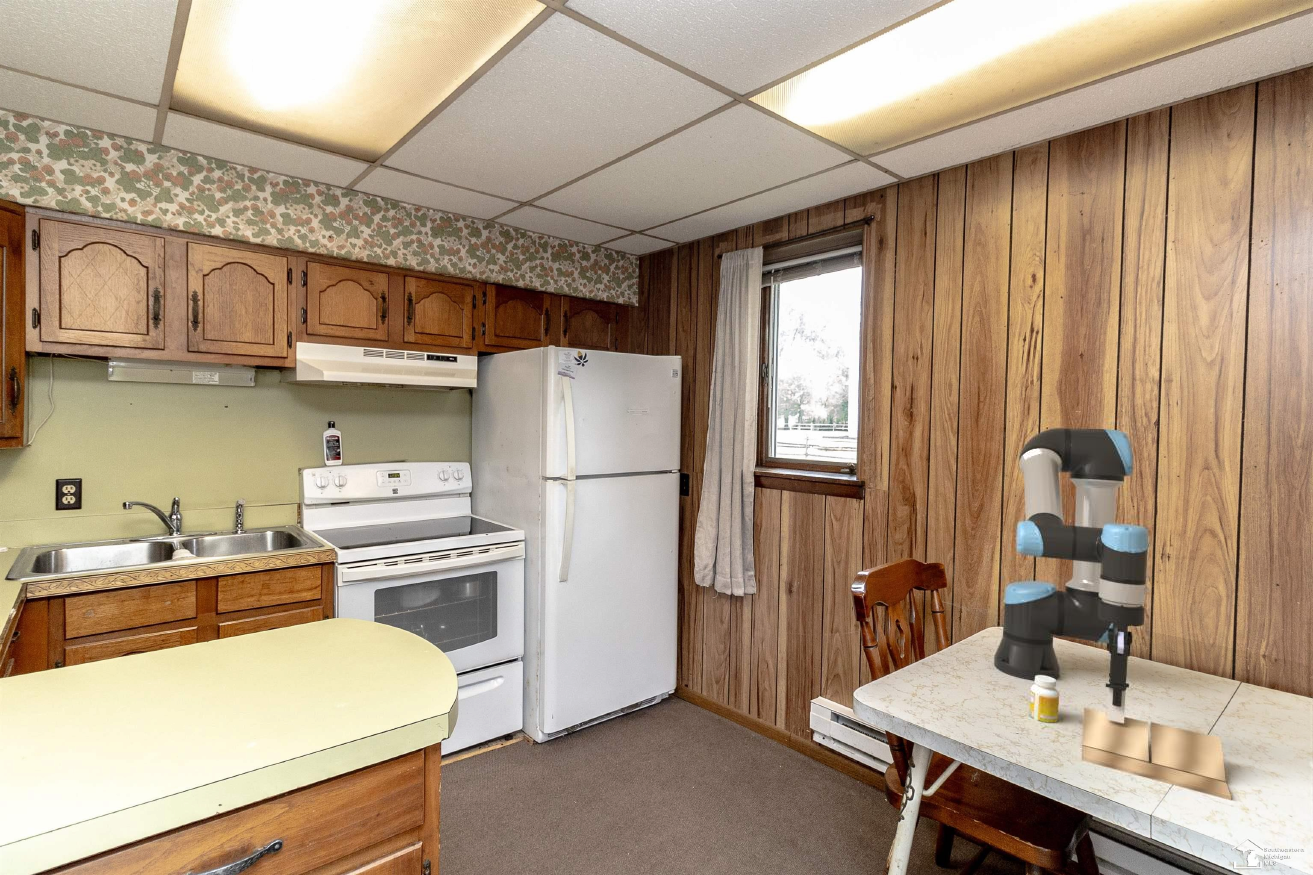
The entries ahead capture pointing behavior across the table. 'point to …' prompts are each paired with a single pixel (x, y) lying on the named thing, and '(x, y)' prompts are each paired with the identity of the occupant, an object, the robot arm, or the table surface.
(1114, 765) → the laid floorboard
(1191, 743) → the plank
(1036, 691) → the supplement bottle
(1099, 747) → the plank
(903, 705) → the table surface
